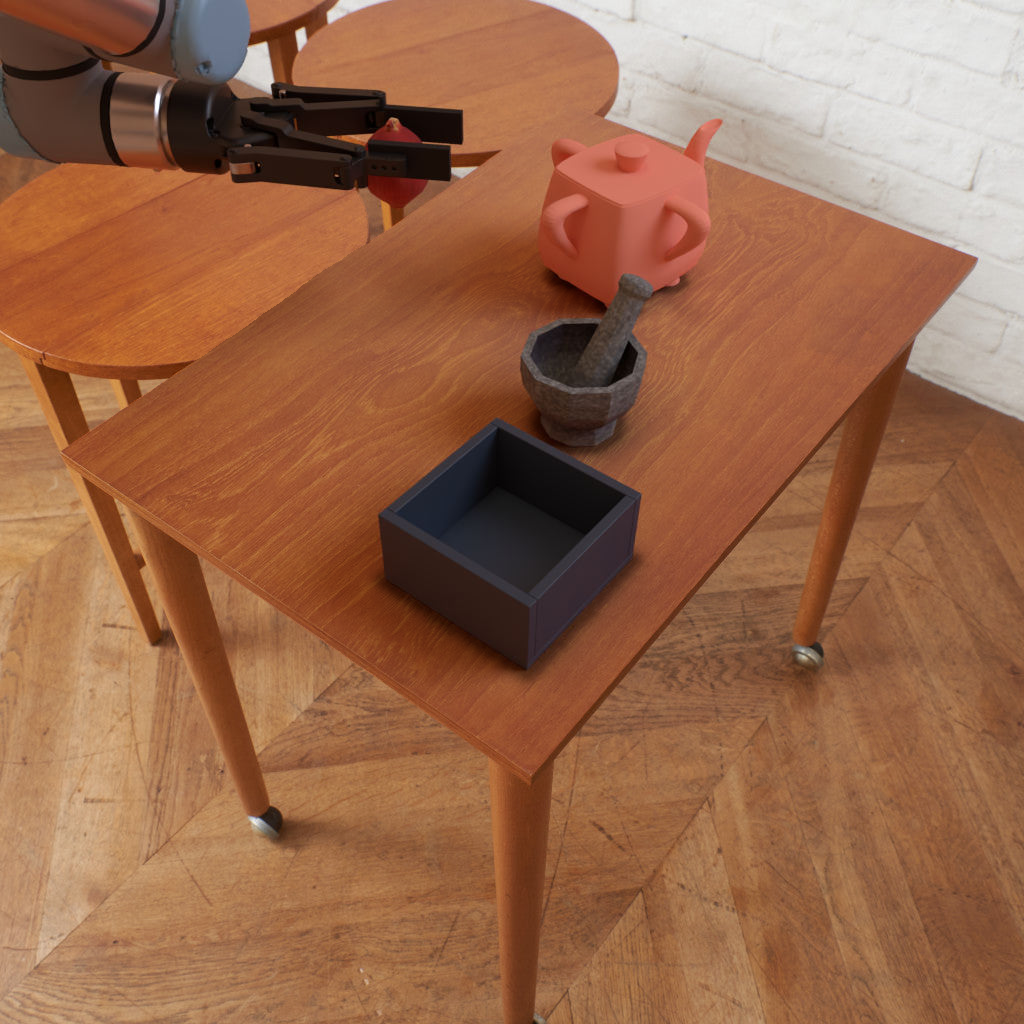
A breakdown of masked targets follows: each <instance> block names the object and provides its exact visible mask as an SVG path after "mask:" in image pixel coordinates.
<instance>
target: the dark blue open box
mask: <svg viewBox="0 0 1024 1024" xmlns="http://www.w3.org/2000/svg"><path fill="white" fill-rule="evenodd" d="M642 495H643V494H642V492H640V491H638V490H636V489H634V488H632V487H630V486H629V485H627V484H625V483H623V482H620V481H618V480H617V479H615V478H614V477H611V476H609V475H608V474H606V473H603V472H601V471H600V470H598V469H596V468H594V467H592V466H590V465H588V464H587V463H584V462H583V461H581V460H579V459H577V458H575V457H574V456H571V455H569V454H567V453H566V452H564V451H562V450H560V449H559V448H556V447H554V446H553V445H551V444H549V443H546V442H545V441H543V440H541V439H540V438H537V437H536V436H533V435H531V434H530V433H527V432H526V431H524V430H522V429H520V428H518V427H517V426H514V425H513V424H511V423H509V422H507V421H505V420H503V419H501V418H499V417H498V416H497V417H495V418H494V419H492V420H491V421H490V422H489V423H487V424H486V425H485V426H484V427H483V428H481V429H480V430H478V432H476V433H474V435H472V437H470V438H469V439H468V440H467V441H466V442H464V443H463V444H462V445H461V446H459V447H458V448H457V449H456V450H454V451H453V452H452V453H451V454H450V455H448V456H447V457H446V458H445V459H443V460H442V461H441V462H440V463H438V464H437V465H436V466H435V467H434V468H433V469H431V470H430V471H429V472H428V473H427V474H425V475H424V476H423V477H422V478H420V479H419V480H418V481H417V482H416V483H414V484H413V485H412V486H411V487H410V488H408V489H407V490H406V491H405V492H403V493H402V494H401V495H399V497H397V498H396V499H395V500H394V501H393V502H391V503H390V504H389V505H388V506H386V507H385V508H384V509H383V510H381V511H380V512H379V513H378V514H377V519H378V529H379V536H380V544H381V553H382V562H383V569H384V570H383V572H384V579H385V580H386V581H388V582H390V583H391V584H392V585H394V586H395V587H397V588H398V589H400V590H402V591H403V592H405V593H406V594H408V595H409V596H411V597H412V598H414V599H416V600H417V601H418V602H420V603H421V604H423V605H425V606H426V607H428V608H429V609H431V610H432V611H434V612H436V613H437V614H439V615H440V616H441V617H443V618H445V619H447V620H448V621H450V622H451V623H453V624H454V625H456V626H458V627H459V628H461V629H462V630H464V631H465V632H467V633H468V634H470V635H471V636H472V637H474V638H476V639H477V640H479V641H480V642H482V643H484V644H485V645H487V646H488V647H490V648H491V649H493V650H495V651H496V652H498V653H499V654H501V655H502V656H504V657H505V658H507V659H509V660H510V661H511V662H513V663H515V664H516V665H518V666H519V667H521V668H522V669H524V670H525V671H528V670H529V669H530V668H531V666H532V665H534V663H535V662H536V661H537V660H538V659H539V658H540V657H541V656H542V655H543V654H544V653H545V652H546V651H547V649H548V648H550V646H551V645H553V644H554V642H555V641H557V639H558V638H559V637H560V636H561V635H562V634H563V633H564V631H565V630H566V629H567V628H569V626H570V625H571V624H572V623H573V622H574V621H575V620H576V619H577V618H578V617H579V615H581V614H582V612H584V610H585V609H586V608H587V607H588V606H589V605H590V604H591V603H592V602H593V601H594V599H596V597H597V596H599V594H600V593H601V592H602V591H603V590H604V589H606V587H607V586H608V585H609V584H610V582H612V580H613V579H615V577H616V576H617V575H619V573H620V572H621V571H622V570H623V569H624V567H625V566H627V564H628V563H629V562H630V561H631V560H633V557H634V552H635V551H634V550H635V543H636V538H637V537H636V536H637V529H638V524H639V523H638V522H639V517H640V516H639V515H640V511H641V510H640V508H641V503H642V502H641V501H642Z"/></svg>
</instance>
